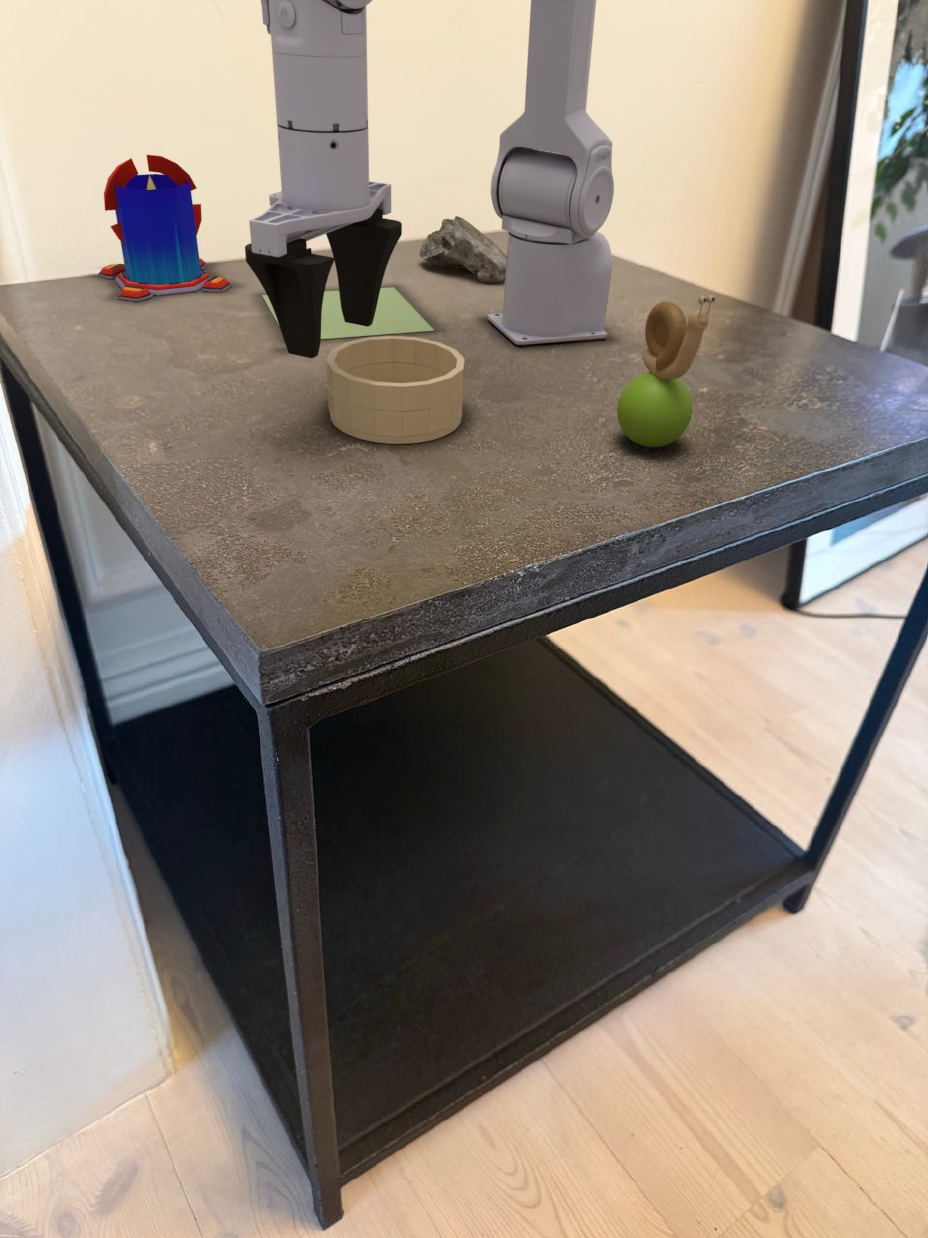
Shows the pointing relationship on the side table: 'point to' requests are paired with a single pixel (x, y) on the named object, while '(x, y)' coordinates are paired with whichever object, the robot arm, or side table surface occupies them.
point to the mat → (388, 318)
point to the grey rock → (465, 250)
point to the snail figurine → (663, 376)
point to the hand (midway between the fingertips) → (331, 338)
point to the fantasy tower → (156, 232)
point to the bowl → (395, 389)
